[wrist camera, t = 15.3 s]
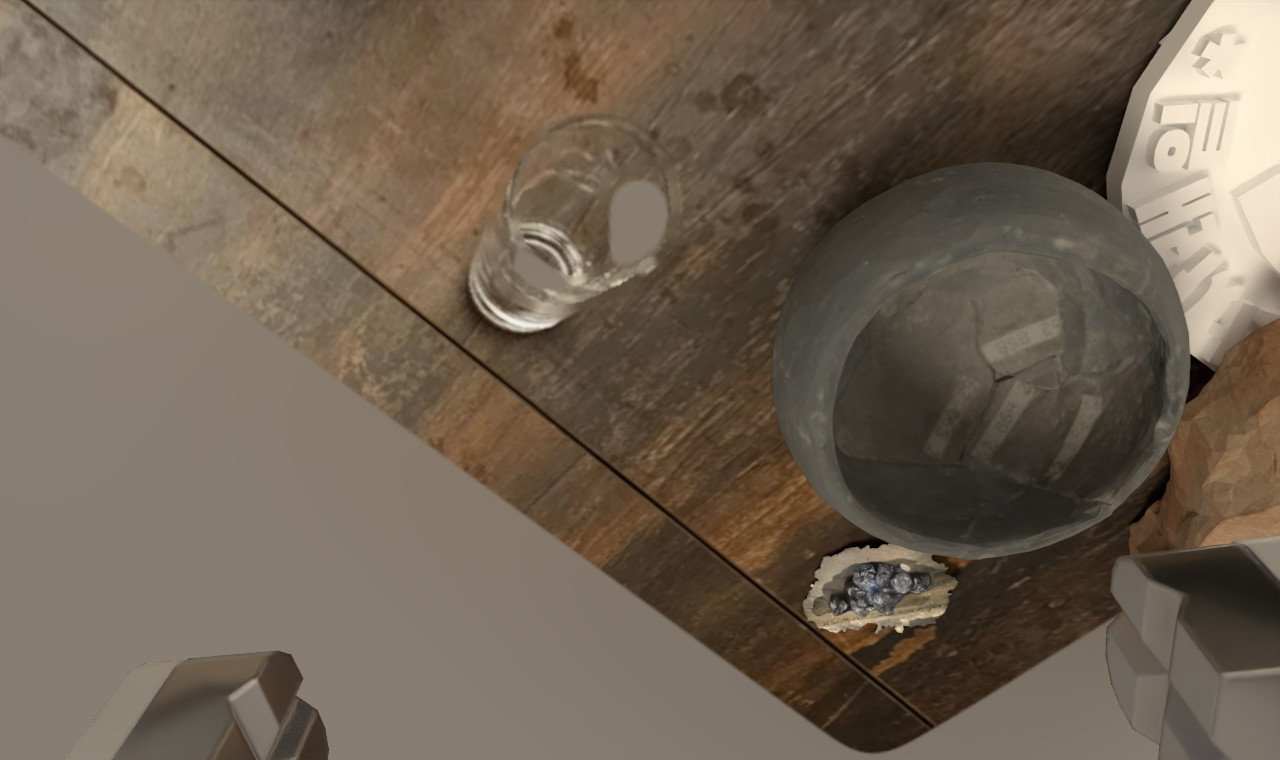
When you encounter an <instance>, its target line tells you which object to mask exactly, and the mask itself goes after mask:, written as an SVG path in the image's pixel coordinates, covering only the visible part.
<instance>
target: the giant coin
mask: <svg viewBox="0 0 1280 760" xmlns="http://www.w3.org/2000/svg"><path fill="white" fill-rule="evenodd" d="M1159 44H1160V45H1161V47H1160V48H1159V50H1158V51H1157V53H1156V54H1155V56H1154V57H1153V59H1152V60H1151V62H1150V63H1149V65H1148V66H1147V68H1146V69H1145V71H1144V72H1143V74H1142V75H1141V77H1140V78H1139V80H1138V81H1137V83H1136V84H1135V86H1134V87H1133V89H1132V93H1131V96H1130V99H1129V103H1128V106H1127V109H1126V112H1125V116H1124V119H1123V122H1122V126H1121V129H1120V132H1119V135H1118V139H1117V142H1116V145H1115V149H1114V152H1113V155H1112V158H1111V162H1110V165H1109V168H1108V171H1107V175H1106V185H1107V201H1108V202H1109V203H1111V204H1112V205H1113V206H1114V207H1116V208H1117V209H1118V210H1120V211H1121V212H1122V213H1123V214H1124V215H1125V216H1126V217H1127V218H1128V219H1129V220H1130V221H1131V222H1132V223H1133V224H1134V225H1135V226H1136V227H1137V228H1138V229H1139V231H1140V232H1141V233H1142V234H1143V235H1144V236H1145V237H1146V239H1147V240H1148V241H1149V242H1150V243H1151V244H1152V246H1153V247H1154V248H1155V250H1156V251H1157V252H1158V253H1159V255H1160V256H1161V257H1162V259H1163V261H1164V263H1165V265H1166V266H1167V268H1168V270H1169V272H1170V274H1171V276H1172V279H1173V281H1174V284H1175V287H1176V289H1177V292H1178V294H1179V298H1180V301H1181V304H1182V308H1183V311H1184V315H1185V319H1186V323H1187V327H1188V332H1189V344H1190V354H1192V355H1193V356H1194V357H1196V358H1197V359H1198V360H1200V361H1201V362H1202V363H1204V364H1205V365H1206V366H1208V367H1209V368H1210V369H1212V370H1213V371H1214V372H1217V370H1218V369H1219V367H1220V366H1221V363H1222V361H1223V358H1224V356H1225V353H1226V352H1227V351H1228V350H1229V349H1230V348H1232V347H1233V346H1234V345H1235V344H1237V343H1239V342H1240V341H1241V340H1243V339H1244V338H1245V337H1247V336H1248V335H1249V334H1250V333H1252V332H1254V331H1255V330H1257V329H1259V328H1261V327H1263V326H1265V325H1267V324H1269V323H1270V322H1272V321H1274V320H1276V319H1279V318H1280V0H1192V1H1191V2H1190V4H1189V5H1188V7H1187V8H1186V10H1185V11H1184V13H1183V14H1182V16H1181V17H1180V19H1179V20H1178V22H1177V23H1176V25H1175V26H1174V28H1173V29H1172V30H1171V32H1170V33H1168V34H1167V35H1166V36H1165V37H1164V38H1163V39H1162V40H1161V41H1160V42H1159Z"/></svg>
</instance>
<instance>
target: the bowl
mask: <svg viewBox="0 0 1280 760" xmlns="http://www.w3.org/2000/svg"><path fill="white" fill-rule="evenodd" d="M1189 378H1190V344H1189V332H1188V327H1187V323H1186V319H1185V315H1184V311H1183V308H1182V304H1181V301H1180V298H1179V294H1178V292H1177V289H1176V287H1175V284H1174V281H1173V279H1172V276H1171V274H1170V272H1169V270H1168V268H1167V266H1166V265H1165V263H1164V261H1163V259H1162V257H1161V256H1160V255H1159V253H1158V252H1157V251H1156V250H1155V248H1154V247H1153V246H1152V244H1151V243H1150V242H1149V241H1148V240H1147V239H1146V237H1145V236H1144V235H1143V234H1142V233H1141V232H1140V231H1139V229H1138V228H1137V227H1136V226H1135V225H1134V224H1133V223H1132V222H1131V221H1130V220H1129V219H1128V218H1127V217H1126V216H1125V215H1124V214H1123V213H1122V212H1121V211H1120V210H1118V209H1117V208H1116V207H1114V206H1113V205H1112V204H1111V203H1109V202H1108V201H1107V200H1105V199H1104V198H1103V197H1101V196H1100V195H1099V194H1097V193H1095V192H1093V191H1092V190H1090V189H1088V188H1086V187H1084V186H1083V185H1081V184H1079V183H1077V182H1074V181H1072V180H1070V179H1067V178H1065V177H1063V176H1060V175H1058V174H1055V173H1053V172H1050V171H1047V170H1043V169H1039V168H1035V167H1031V166H1025V165H1018V164H1012V163H999V162H979V163H967V164H962V165H956V166H951V167H945V168H940V169H937V170H934V171H931V172H928V173H925V174H923V175H920V176H917V177H915V178H913V179H911V180H908V181H906V182H904V183H902V184H899V185H897V186H895V187H893V188H891V189H889V190H887V191H885V192H883V193H881V194H880V195H878V196H876V197H874V198H872V199H870V200H869V201H867V202H865V203H863V204H862V205H861V206H859V207H858V208H856V209H855V210H854V211H852V212H851V213H850V214H848V215H847V216H846V217H844V218H843V219H842V220H840V221H839V222H838V223H836V224H835V225H834V226H833V228H832V229H831V230H830V231H829V232H828V233H827V234H826V235H825V236H824V237H823V239H822V240H821V241H820V242H819V243H818V244H817V246H816V247H815V248H814V249H813V250H812V251H811V253H810V254H809V256H808V257H807V259H806V260H805V262H804V263H803V265H802V266H801V268H800V270H799V272H798V274H797V276H796V278H795V279H794V281H793V283H792V286H791V288H790V290H789V292H788V294H787V297H786V300H785V303H784V306H783V309H782V312H781V315H780V318H779V321H778V325H777V330H776V335H775V340H774V345H773V350H772V369H771V385H772V394H773V400H774V406H775V410H776V414H777V418H778V423H779V427H780V429H781V432H782V434H783V437H784V439H785V441H786V444H787V446H788V448H789V450H790V452H791V454H792V456H793V458H794V460H795V462H796V464H797V465H798V467H799V468H800V470H801V471H802V473H803V474H804V476H805V477H806V479H807V480H808V482H809V483H810V484H811V486H812V487H813V488H814V490H815V491H816V492H817V493H818V494H819V495H820V496H821V497H822V498H823V499H824V500H825V501H826V502H827V503H828V504H829V505H830V506H831V507H832V508H834V509H835V510H836V511H837V512H839V513H840V514H841V515H842V516H844V517H845V518H846V519H848V520H849V521H850V522H852V523H853V524H855V525H856V526H858V527H859V528H861V529H862V530H864V531H866V532H867V533H869V534H871V535H873V536H874V537H877V538H879V539H881V540H884V541H886V542H888V543H891V544H894V545H897V546H900V547H903V548H907V549H910V550H913V551H917V552H922V553H927V554H933V555H939V556H948V557H957V558H961V559H984V558H990V557H1000V556H1006V555H1012V554H1017V553H1023V552H1029V551H1032V550H1035V549H1039V548H1042V547H1045V546H1048V545H1051V544H1054V543H1056V542H1058V541H1061V540H1063V539H1066V538H1068V537H1071V536H1073V535H1075V534H1077V533H1079V532H1081V531H1083V530H1085V529H1087V528H1089V527H1090V526H1092V525H1094V524H1096V523H1098V522H1100V521H1102V520H1103V519H1105V518H1107V517H1108V516H1110V515H1112V512H1113V510H1114V509H1116V508H1117V507H1118V506H1119V505H1120V504H1122V503H1123V502H1124V501H1125V500H1126V499H1127V497H1128V496H1129V495H1130V494H1131V493H1132V492H1133V491H1134V490H1135V489H1137V488H1138V487H1139V486H1140V485H1141V484H1142V483H1143V482H1144V481H1145V479H1146V478H1147V477H1148V476H1149V474H1150V473H1151V472H1152V470H1153V469H1154V468H1155V466H1156V465H1157V463H1158V462H1159V461H1160V459H1161V458H1162V456H1163V455H1164V453H1165V452H1166V449H1167V447H1168V445H1169V443H1170V441H1171V439H1172V437H1173V434H1174V432H1175V430H1176V428H1177V426H1178V423H1179V421H1180V419H1181V416H1182V414H1183V410H1184V406H1185V402H1186V397H1187V393H1188V389H1189Z"/></svg>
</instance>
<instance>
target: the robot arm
mask: <svg viewBox="0 0 1280 760" xmlns="http://www.w3.org/2000/svg"><path fill="white" fill-rule="evenodd" d="M1110 592H1111V593H1112V595H1113V596H1114V598H1115V599H1116V601H1117V602H1118V604H1119V605H1120V607H1121V608H1122V611H1121V612H1120V613H1119V615H1118V616H1117V617H1116V618H1115V619H1114V620H1113V621H1112V622H1111V623H1110V624H1109V626H1108V627H1107V636H1106V659H1107V664H1108V669H1109V675H1110V680H1111V684H1112V687H1113V689H1114V692H1115V694H1116V697H1117V700H1118V702H1119V705H1120V707H1121V709H1122V710H1123V712H1124V714H1125V715H1126V718H1127V719H1128V721H1129V723H1130V725H1131V726H1132V728H1133V729H1134V730H1135V731H1137V732H1139V733H1140V734H1142V735H1143V736H1145V737H1147V738H1148V739H1150V740H1151V741H1153V742H1155V743H1156V744H1158V745H1159V746H1160V748H1159V756H1158V757H1159V758H1158V760H1280V536H1273V537H1265V538H1257V539H1250V540H1242V541H1235V542H1232V543H1231V544H1219V545H1211V546H1202V547H1194V548H1185V549H1177V550H1169V551H1160V552H1152V553H1143V554H1135V555H1127V556H1118V558H1117V560H1116V562H1115V564H1114V566H1113V568H1112V575H1111V585H1110ZM302 680H303V677H302V675H301V673H300V671H299V669H298V667H297V665H296V663H295V662H294V659H293V657H292V655H291V654H287V653H284V652H280V651H270V652H258V653H247V654H235V655H224V656H212V657H202V658H189V659H188V660H177V661H166V662H156V663H155V662H154V663H144V664H142V665H140V666H139V667H137V668H135V669H133V670H131V671H129V672H128V673H127V675H126V676H125V677H124V679H123V680H122V681H121V683H120V684H119V686H118V687H117V688H116V689H115V691H114V692H113V694H112V695H111V696H110V698H109V699H108V700H107V702H106V703H105V704H104V706H103V707H102V709H101V710H100V711H99V713H98V714H97V715H96V717H95V718H94V719H93V721H92V722H91V724H90V725H89V726H88V728H87V729H86V730H85V732H84V733H83V734H82V736H81V737H80V739H79V740H78V741H77V743H76V744H75V745H74V747H73V748H72V749H71V751H70V752H69V754H68V755H67V756H66V758H65V759H64V760H328V753H329V752H328V751H329V748H328V742H327V736H326V730H325V727H324V724H323V722H322V720H321V718H320V715H319V713H318V710H316V709H315V708H313V707H312V706H310V705H309V704H308V703H306V702H305V701H303V700H302V699H300V698H299V697H297V696H296V695H297V692H298V690H299V687H300V685H301V683H302Z"/></svg>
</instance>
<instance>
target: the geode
mask: <svg viewBox="0 0 1280 760" xmlns="http://www.w3.org/2000/svg"><path fill="white" fill-rule="evenodd" d="M869 547H870V546H869V545H867V546H866V547H864V548H863V549H859V548H858V547H856V548H854V547H853V548H852V547H851V548H849V549H845V550H844V551H843V552H841V553H839V555H837V554H835V555H834V556H832V557H829V556H828V557H827V556H826V557H824V558H823V559H824V560H823V561H822V562H823V563H822V564H821V567H820V569H818V570H816V571H815V572H814V573H816V574H815V575H816V576H815V577H816V578H817V579H818V581H816V582H815V585H813V584H812V585H810V586H811V587H812V590H810V591H809V594H807V595H808V596H807V599H805V600H804V604H803V608H804V609H803V610H804V611H803V612H804V614H805V615H806V616H807V617H808V620H807V621H809V620H810V621H814V622H815V623H816V625H817V627H818V628H824V629H827V630H829V631H830V632H835V633H838V632H839V631H840V630H842V629H843V632H846V629H848V628H849V629H854V630H855V629H856V630H860V629H861V627H862V626H864V625H865V624H867V623H875V622H876V623H877V624H878V625H879V626H878V629H877V632H878V631H879V630H881V629H882V628H881V626H882V625H883V626H886V628H887V625H889V626H894V625H896V628H895V629H896V631H897V632H899V633H903V632H902V631H903V629H904V628H903V626H904V625H905V626H906V625H907V626H910V627H912V626H913V625H914V626H916V625H918V626H919V625H921V626H926V624H931V623H932V624H933V623H934V624H935V623H936V622H935V619H937V618H938V619H939V618H940V616H941V615H942V614H944V612H945V610H946V608H947V605H948V604H950V603H949V602H950V601H949V595H952V594H950V593H949V594H948V591H949V590H950V589H951V590H953V589H954V588H955V587H956V586H957V585H956V584H957V583H958V582H957V581H956V580H955V578H954V577H951V576H950V575H947V574H945V573H944V572H947V569H949V568H948V567H946V568H945V565H944V564H943V563H941V564H938V563H937V562H936V561H935V562H934V561H933V560H932V559H931V557H932V555H933V554H927V553H922V552H917V551H913V550H910V549H907V548H903V547H900V546H897V545H894V544H888V545H886V544H884V545H881V546H880V547H879V548H877V549H876V548H875V549H874V548H872V549H870V548H869ZM869 557H870V558H869ZM868 558H869V559H868ZM867 559H868V560H867ZM954 586H955V587H954ZM877 632H875V633H877Z"/></svg>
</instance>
